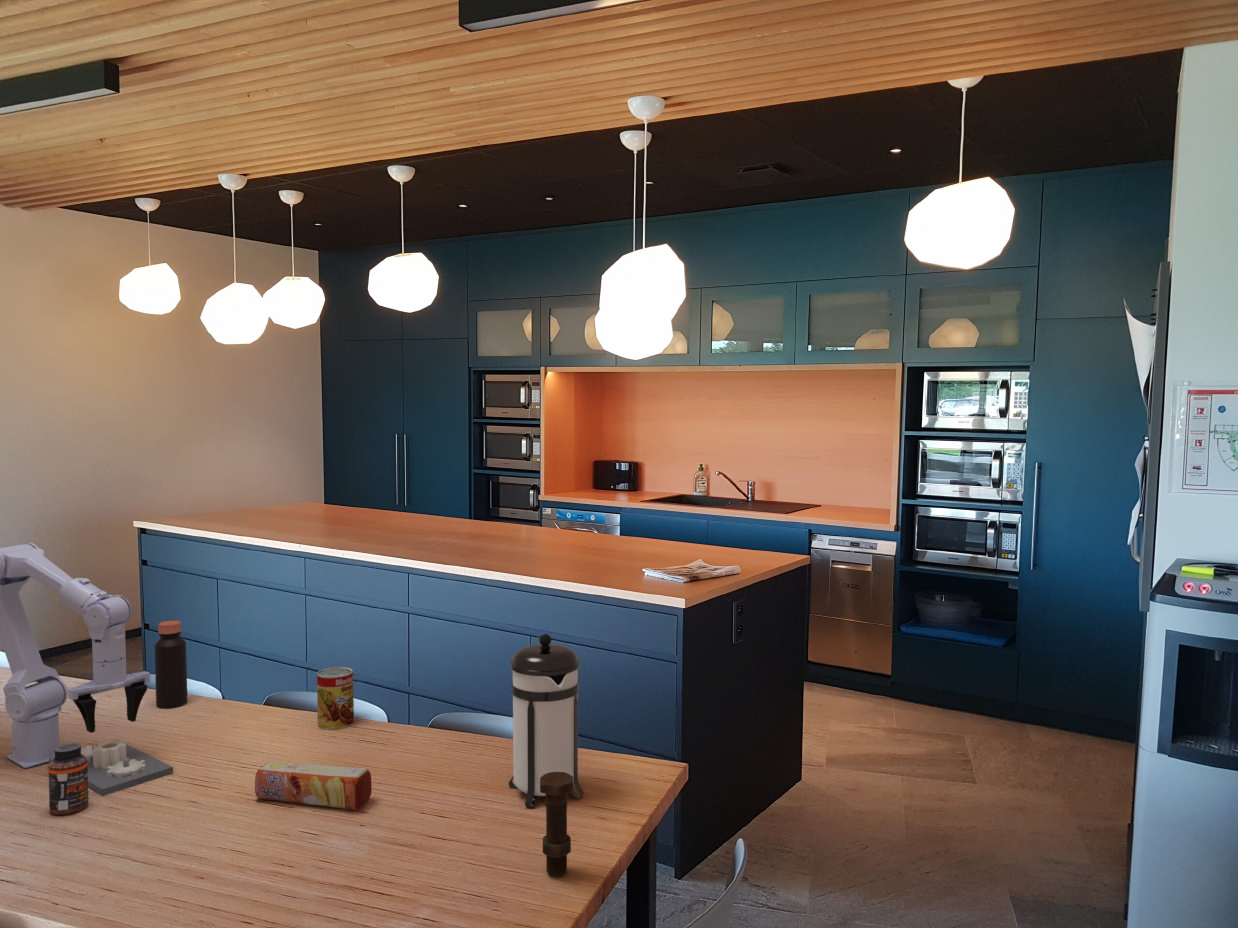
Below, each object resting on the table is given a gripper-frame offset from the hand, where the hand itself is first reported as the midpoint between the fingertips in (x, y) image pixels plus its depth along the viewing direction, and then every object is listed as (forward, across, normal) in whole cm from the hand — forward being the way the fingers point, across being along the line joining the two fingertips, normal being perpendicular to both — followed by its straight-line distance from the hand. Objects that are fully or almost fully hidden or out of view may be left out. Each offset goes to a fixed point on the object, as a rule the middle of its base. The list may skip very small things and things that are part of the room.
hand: (111, 725), depth 176 cm
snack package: (+9, +16, -45) cm, 48 cm away
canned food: (+9, +42, -14) cm, 45 cm away
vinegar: (+9, +26, +29) cm, 40 cm away
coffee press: (+9, +44, -75) cm, 88 cm away
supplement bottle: (+9, -13, -13) cm, 21 cm away
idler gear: (+7, -1, 0) cm, 7 cm away
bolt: (+9, +24, -97) cm, 100 cm away
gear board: (+8, -1, 0) cm, 9 cm away
